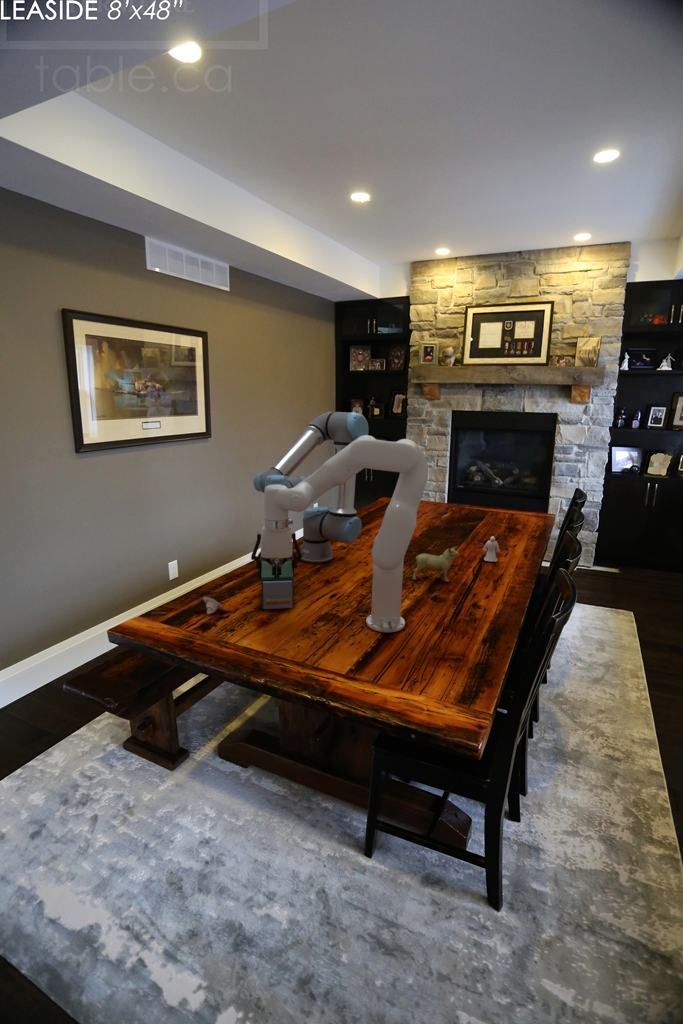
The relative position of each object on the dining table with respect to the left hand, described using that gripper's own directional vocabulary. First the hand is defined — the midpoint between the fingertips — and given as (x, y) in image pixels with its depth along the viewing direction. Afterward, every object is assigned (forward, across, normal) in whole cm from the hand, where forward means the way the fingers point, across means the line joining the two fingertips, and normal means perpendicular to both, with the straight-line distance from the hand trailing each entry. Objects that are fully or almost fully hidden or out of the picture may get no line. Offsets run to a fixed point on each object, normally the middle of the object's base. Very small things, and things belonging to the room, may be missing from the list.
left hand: (277, 576), depth 183 cm
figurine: (+7, -96, -28) cm, 100 cm away
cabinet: (+7, 0, +4) cm, 8 cm away
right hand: (-7, 0, +18) cm, 19 cm away
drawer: (+6, 0, +10) cm, 12 cm away
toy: (+7, -63, -8) cm, 64 cm away
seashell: (+7, +22, +13) cm, 26 cm away
